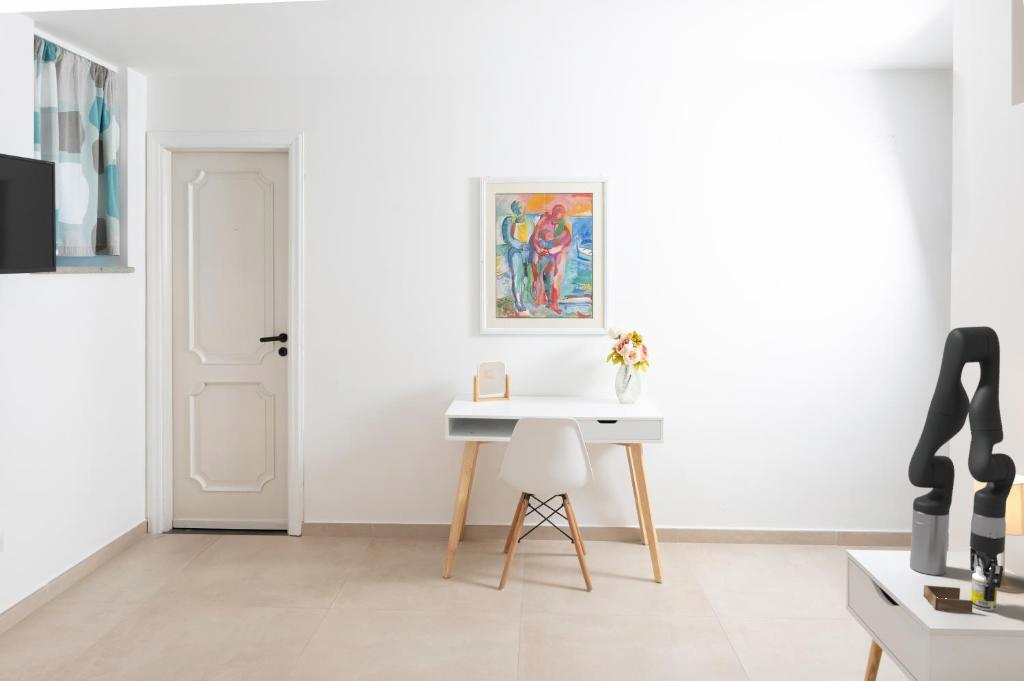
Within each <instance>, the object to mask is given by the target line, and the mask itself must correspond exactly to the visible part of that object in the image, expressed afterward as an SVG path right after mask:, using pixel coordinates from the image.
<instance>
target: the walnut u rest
mask: <svg viewBox="0 0 1024 681" xmlns="http://www.w3.org/2000/svg"><path fill="white" fill-rule="evenodd" d="M960 594H961V588H960V587H956V586H955V587H953V586H938V585H926V584H925V585H924V586H923V597H924V599H925V598H926V599H927V600H928V601H927V600H926V599H925V600H926V601H927V602H928V603H929V605H930V606H931V605H932V606H933V607H932V606H931V607H932V608H933V609H934V610H935V611H942V610H944V612H956V613H970V614H971V613H973V608H974V606H973V601H972V600H971V599H960V598H961V595H960ZM937 597H938V598H937ZM945 598H947V599H945Z"/></svg>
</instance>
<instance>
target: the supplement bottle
mask: <svg viewBox="0 0 1024 681" xmlns="http://www.w3.org/2000/svg"><path fill="white" fill-rule="evenodd" d="M986 573H987V574H989V573H990V572H986ZM988 580H989V577H988ZM984 587H985V582H984V577H982V574H981V568H980V567H979V566H977V567H976V573H974V574H973V573H972V577H971V590H970V591H971V592H970V593H971V594H970V595H971V596H970V600H972V601H973V608H976V609H978V610H980V611H981V610H982V611H988V612H990V611H994V610H996V609H997V596H998V588H995V599H994V601H993V602H990V601H985V600H984Z"/></svg>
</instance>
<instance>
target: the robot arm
mask: <svg viewBox="0 0 1024 681" xmlns="http://www.w3.org/2000/svg"><path fill="white" fill-rule="evenodd" d="M968 363H969V364H970V363H978V365H979V371H980V375H979V381H978V383H977V387H976V390H975V391H974V394H973V396H972V398H971V400H970V399H969V395H968V393H967V391H966V389H965V386H964V385H963V382H962V375H963V370H964V367H965V366H966V364H968ZM1000 365H1001V345H1000V339H999V336H998V334H997V332H996V331H995V330H994V329H993V328H992V327H990V326H985V325H984V326H964V327H955V328H953V329H951V330H950V332H948V334H947V337H946V339H945V343H944V348H943V353H942V359H941V365H940V370H939V374H938V378H937V382H936V385H935V388H934V392H933V395H932V398H931V400H930V404H929V407H928V411H927V415H926V420H925V423H924V426H923V429H922V432H921V434H920V437H919V440H918V442H917V444H916V446H915V449H914V451H913V452H912V453H913V454H912V455H911V458H910V461H909V464H908V470H907V471H908V473H907V474H908V479H909V482H910V483H911V485H913V486H914V487H915V488H916V487H917V488H923V489H931V490H930V491H929V492H927V493H925V494H922V495H921V496H917V497H916V498H914V500H913V502H912V520H911V521H912V522H911V538H910V552H909V553H910V556H909V557H910V558H909V568H910V569H911V570H913V571H915V572H917V573H920V574H921V573H922V574H926V575H932V576H935V575H936V576H938V575H939V576H940V575H944V574H945V573H946V571H947V561H948V560H947V559H948V557H947V556H948V541H949V528H950V527H949V526H950V523H949V522H950V509H951V506H952V502H953V491H954V486H955V485H954V484H955V473H956V472H955V465H954V462H953V460H952V459H951V458H950V457H949V456H946V455H936V454H937V453H938V451H939V449H941V447H943V446H944V445H945V444H946V443H948V442H949V441H951V440H952V439H953V438H954V437H955V436H957V435H958V434H959V433H960V432H961V430H963V428H964V426H965V424H966V421H967V417H968V422H969V428H970V429H969V430H970V435H971V438H970V443H969V451H968V456H967V457H968V458H967V467H968V471H969V473H970V475H971V477H972V478H973V479H974V481H976V482H979V483H986V485H985V486H984V487H982V488H980V489H978V490H976V491H975V493H974V495H973V506H972V507H973V509H972V517H971V522H970V536H969V537H970V538H969V539H970V540H969V547H970V549H969V550H970V552H969V553H970V554H969V555H970V559H969V560H970V561H969V562H970V563H969V564H970V567H969V568H970V571H971V572H972V575H973V574H974V573H976V567H977V566H979V567H980V568H981V574H982V577H984V582H985V587H984V600H985V601H990V602H993V601H994V599H995V588H997V589H1000V588H1001V585H1002V580H1003V571H1004V566H1003V565H999V561H998V555H1000V554H1003V553H1004V552H1005V546H1006V545H1005V544H1006V531H1007V523H1006V521H1007V520H1006V512H1007V510H1006V509H1007V500H1008V498H1009V495H1010V493H1011V489H1012V488H1013V485H1014V482H1015V479H1016V475H1017V469H1016V465H1015V461H1014V459H1012V458H1011V456H1010V455H1008V454H1005V453H1001V452H998V453H993V450H994V446H995V445H997V444H1000V443H1002V442H1003V440H1004V430H1003V429H1004V428H1003V424H1002V417H1001V409H1000V379H1001V378H1000V377H1001V376H1000V371H1001V370H1000V368H1001V366H1000ZM986 572H990V573H989V574H987V573H986ZM988 577H989V580H988Z"/></svg>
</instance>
